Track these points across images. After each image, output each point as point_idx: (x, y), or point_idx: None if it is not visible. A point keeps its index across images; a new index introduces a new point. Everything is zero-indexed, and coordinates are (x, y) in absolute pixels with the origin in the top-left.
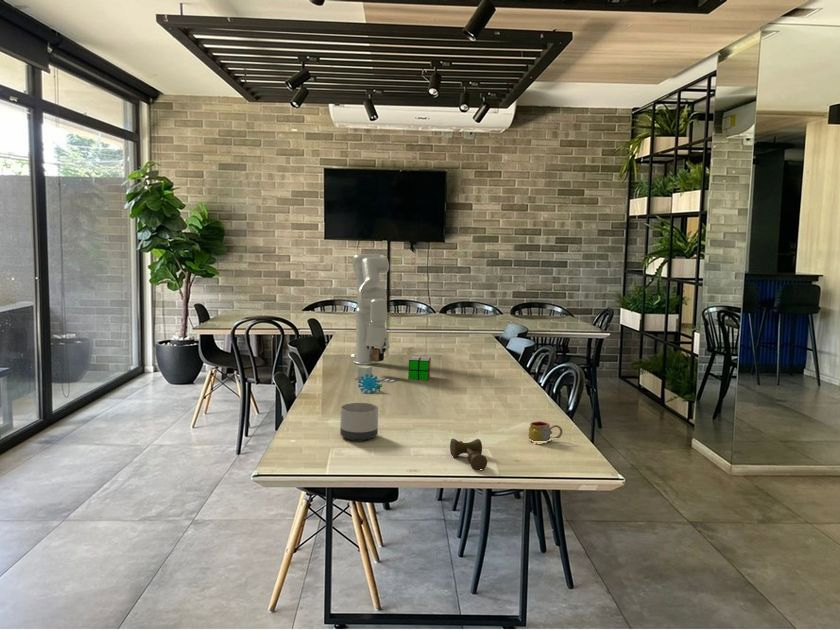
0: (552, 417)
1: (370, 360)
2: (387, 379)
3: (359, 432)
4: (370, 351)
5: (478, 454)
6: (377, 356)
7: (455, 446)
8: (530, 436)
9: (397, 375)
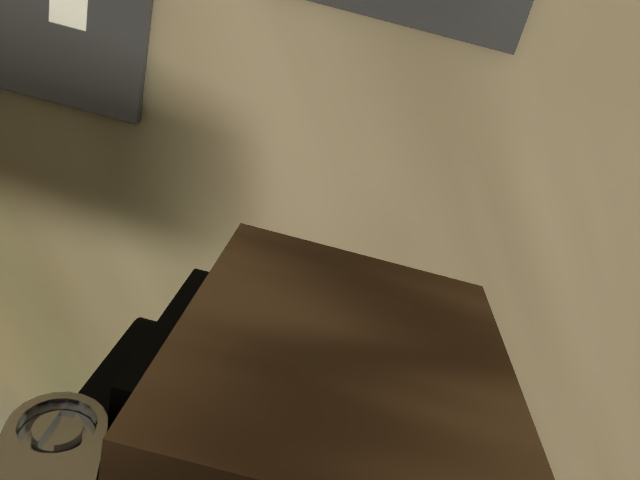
0: None
1: (455, 281)
2: (73, 9)
3: None
4: (513, 454)
5: None
6: (215, 286)
7: None
8: None
9: (113, 346)
